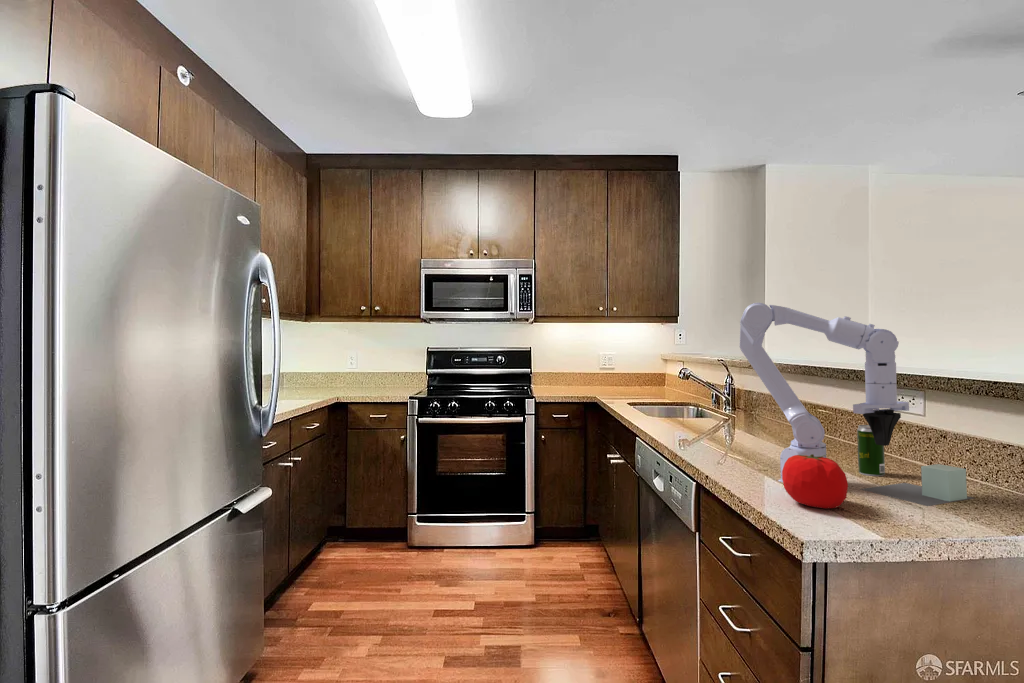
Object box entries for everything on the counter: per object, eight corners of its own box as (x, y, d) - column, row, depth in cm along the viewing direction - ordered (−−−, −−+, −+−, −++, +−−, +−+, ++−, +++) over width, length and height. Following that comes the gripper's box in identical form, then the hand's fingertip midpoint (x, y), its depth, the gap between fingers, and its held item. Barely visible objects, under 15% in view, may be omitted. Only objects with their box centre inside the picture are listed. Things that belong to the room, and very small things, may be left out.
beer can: (888, 475, 131) (886, 426, 131) (880, 479, 127) (879, 428, 127) (863, 471, 135) (861, 424, 135) (855, 475, 131) (853, 426, 132)
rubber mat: (927, 508, 104) (927, 506, 104) (860, 490, 117) (860, 489, 117) (975, 500, 109) (975, 498, 109) (904, 484, 122) (904, 482, 122)
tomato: (825, 517, 100) (824, 462, 100) (768, 501, 111) (767, 451, 112) (865, 509, 104) (863, 456, 104) (806, 494, 116) (804, 446, 116)
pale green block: (949, 501, 107) (948, 471, 107) (922, 495, 112) (921, 466, 112) (967, 498, 108) (965, 468, 109) (939, 492, 113) (938, 464, 113)
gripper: (874, 385, 112) (876, 450, 112) (922, 383, 117) (924, 445, 117) (843, 383, 119) (845, 445, 119) (890, 381, 124) (892, 440, 123)
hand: (882, 444), depth 118 cm, fingers closed
